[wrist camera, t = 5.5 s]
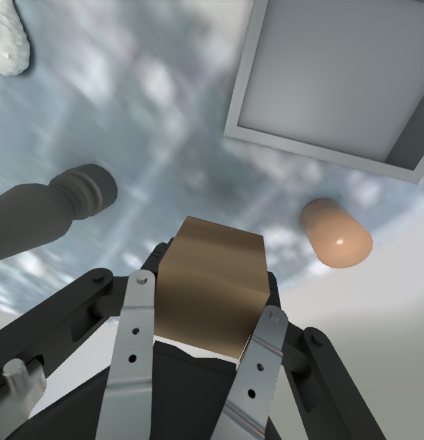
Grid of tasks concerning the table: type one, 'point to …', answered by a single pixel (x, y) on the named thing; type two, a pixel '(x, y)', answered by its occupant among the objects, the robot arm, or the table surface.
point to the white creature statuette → (12, 41)
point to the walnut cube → (211, 287)
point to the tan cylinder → (335, 234)
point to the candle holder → (52, 207)
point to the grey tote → (335, 83)
